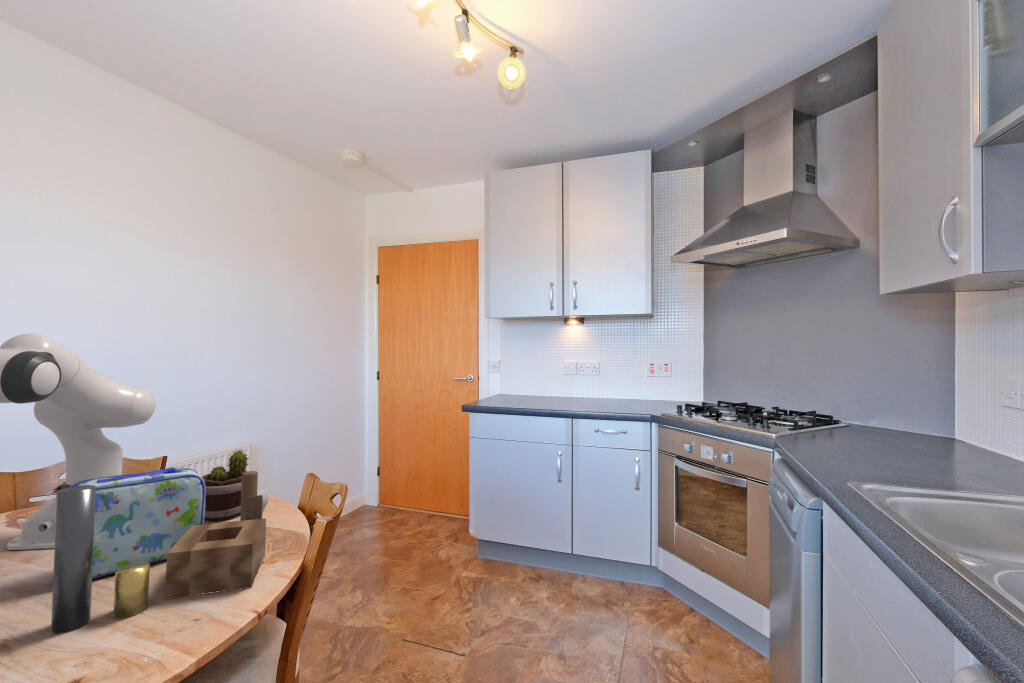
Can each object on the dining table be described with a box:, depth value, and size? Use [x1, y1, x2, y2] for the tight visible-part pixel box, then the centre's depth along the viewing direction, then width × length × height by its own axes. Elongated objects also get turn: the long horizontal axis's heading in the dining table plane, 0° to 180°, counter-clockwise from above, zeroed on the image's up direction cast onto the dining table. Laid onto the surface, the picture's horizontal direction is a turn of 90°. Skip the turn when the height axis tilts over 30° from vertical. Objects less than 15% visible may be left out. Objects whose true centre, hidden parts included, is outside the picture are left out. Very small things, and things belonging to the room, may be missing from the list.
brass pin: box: [113, 562, 151, 619], centre depth 84 cm, size 5×5×8 cm
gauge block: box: [164, 518, 267, 600], centre depth 98 cm, size 15×15×9 cm
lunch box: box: [70, 466, 206, 580], centre depth 104 cm, size 26×11×21 cm, turn 137°
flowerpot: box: [201, 447, 250, 522], centre depth 134 cm, size 14×15×20 cm
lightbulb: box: [257, 488, 269, 515], centre depth 123 cm, size 6×6×11 cm
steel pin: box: [50, 485, 96, 634], centre depth 80 cm, size 5×5×24 cm
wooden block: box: [239, 470, 263, 521], centre depth 112 cm, size 4×11×18 cm, turn 38°
